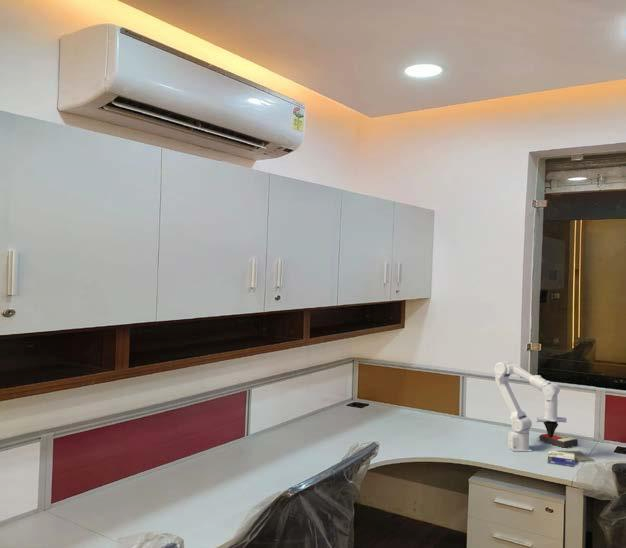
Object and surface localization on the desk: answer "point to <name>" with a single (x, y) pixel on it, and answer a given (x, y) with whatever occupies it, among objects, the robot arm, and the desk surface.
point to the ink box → (561, 458)
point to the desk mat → (579, 455)
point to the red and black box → (559, 440)
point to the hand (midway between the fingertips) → (550, 437)
